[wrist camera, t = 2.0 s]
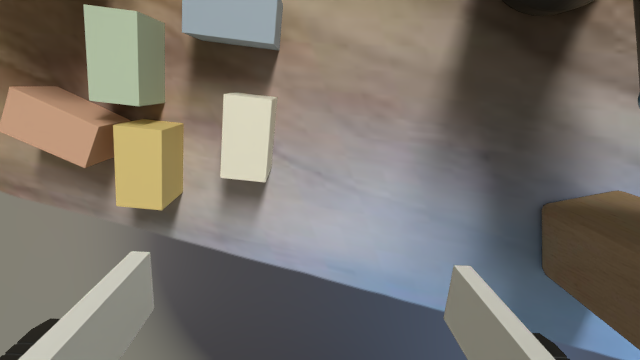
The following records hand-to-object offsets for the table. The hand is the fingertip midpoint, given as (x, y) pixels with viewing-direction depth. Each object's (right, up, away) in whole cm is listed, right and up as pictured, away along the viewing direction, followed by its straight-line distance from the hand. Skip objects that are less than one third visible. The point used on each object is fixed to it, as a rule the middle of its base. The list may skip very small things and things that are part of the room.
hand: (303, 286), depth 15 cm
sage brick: (-18, +17, +21) cm, 32 cm away
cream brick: (-7, +10, +23) cm, 26 cm away
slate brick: (-7, +21, +20) cm, 30 cm away
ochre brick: (-17, +7, +24) cm, 30 cm away
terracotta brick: (-25, +11, +22) cm, 35 cm away
